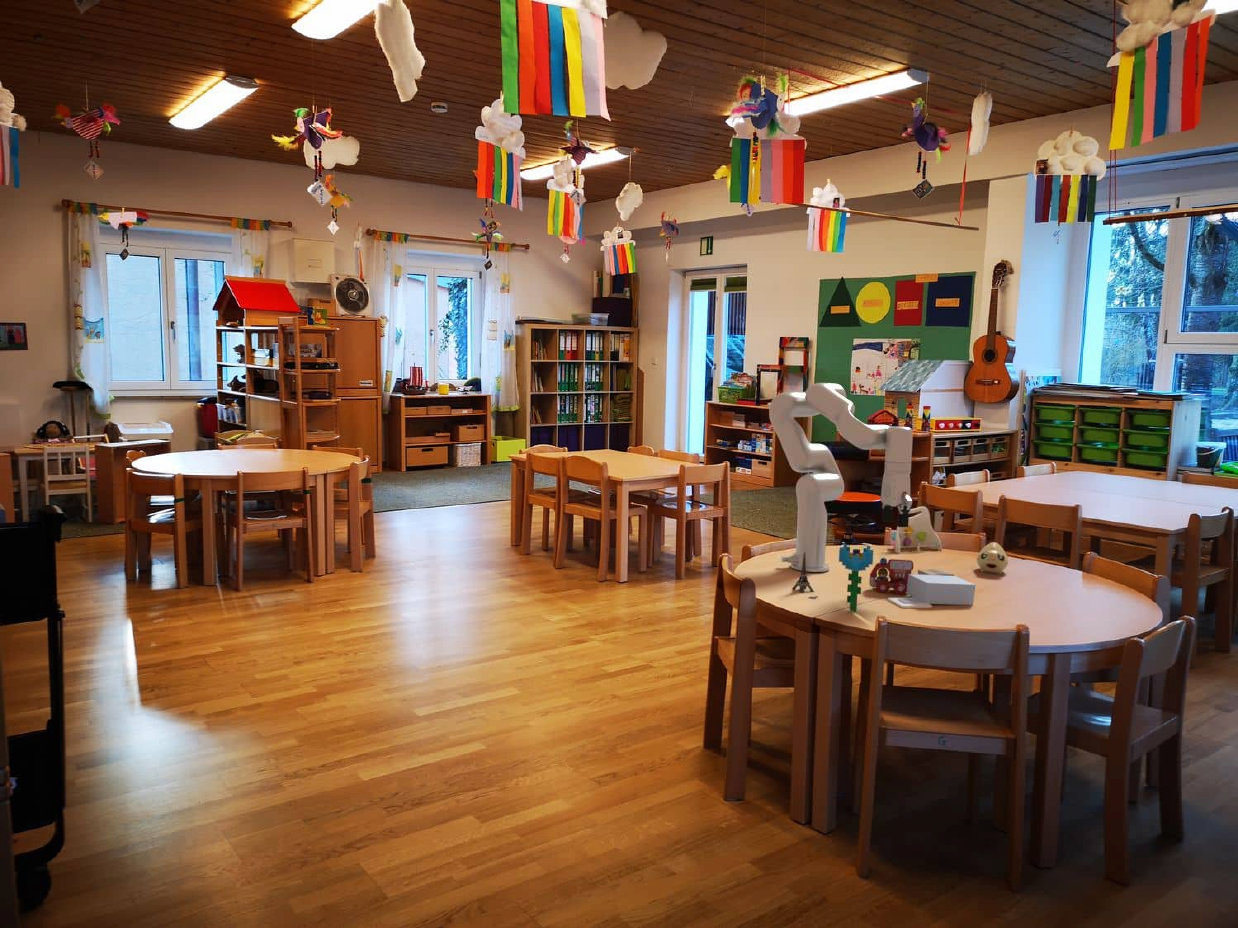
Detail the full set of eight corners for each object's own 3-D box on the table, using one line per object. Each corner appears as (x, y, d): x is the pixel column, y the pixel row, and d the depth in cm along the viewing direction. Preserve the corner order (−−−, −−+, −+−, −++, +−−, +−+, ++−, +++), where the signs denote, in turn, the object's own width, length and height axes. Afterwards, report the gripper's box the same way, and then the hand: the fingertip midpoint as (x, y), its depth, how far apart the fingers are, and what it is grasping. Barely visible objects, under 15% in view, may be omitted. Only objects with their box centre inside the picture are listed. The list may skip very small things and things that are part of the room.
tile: (902, 608, 248) (902, 604, 248) (887, 599, 257) (887, 596, 257) (931, 607, 250) (932, 604, 250) (916, 599, 259) (916, 596, 258)
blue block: (925, 603, 251) (927, 582, 251) (906, 593, 262) (908, 574, 262) (973, 605, 254) (975, 584, 253) (952, 595, 265) (954, 575, 264)
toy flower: (869, 615, 239) (873, 550, 237) (835, 612, 242) (839, 548, 240) (870, 607, 248) (873, 544, 246) (837, 604, 250) (840, 542, 248)
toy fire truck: (868, 587, 272) (870, 554, 271) (910, 591, 269) (912, 557, 268) (869, 592, 265) (871, 558, 264) (912, 596, 262) (914, 562, 261)
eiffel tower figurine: (815, 601, 256) (817, 555, 254) (781, 596, 260) (783, 552, 258) (826, 590, 269) (828, 547, 268) (793, 585, 273) (795, 543, 272)
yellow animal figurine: (974, 575, 292) (976, 544, 291) (976, 568, 303) (978, 538, 302) (1006, 579, 288) (1009, 547, 287) (1007, 572, 299) (1009, 541, 298)
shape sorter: (922, 550, 334) (925, 504, 332) (942, 556, 324) (945, 508, 323) (880, 552, 327) (882, 505, 325) (898, 558, 317) (901, 510, 315)
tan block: (929, 594, 266) (930, 574, 265) (916, 588, 273) (918, 569, 272) (952, 593, 268) (954, 574, 267) (940, 587, 275) (941, 569, 274)
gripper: (873, 465, 271) (870, 519, 273) (899, 470, 254) (896, 529, 256) (895, 465, 272) (893, 519, 274) (923, 470, 255) (920, 529, 257)
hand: (894, 524), depth 265 cm, fingers open, 9 cm apart
